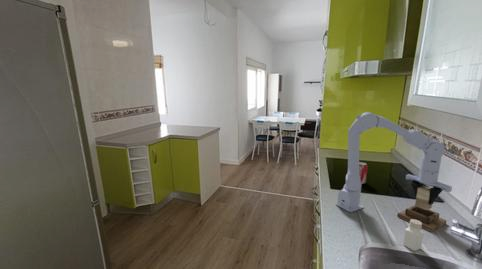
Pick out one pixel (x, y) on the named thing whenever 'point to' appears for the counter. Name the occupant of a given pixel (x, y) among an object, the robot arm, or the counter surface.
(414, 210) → the peg holder
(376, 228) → the counter surface
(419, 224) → the salt shaker
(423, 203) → the birch peg
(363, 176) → the beverage can
